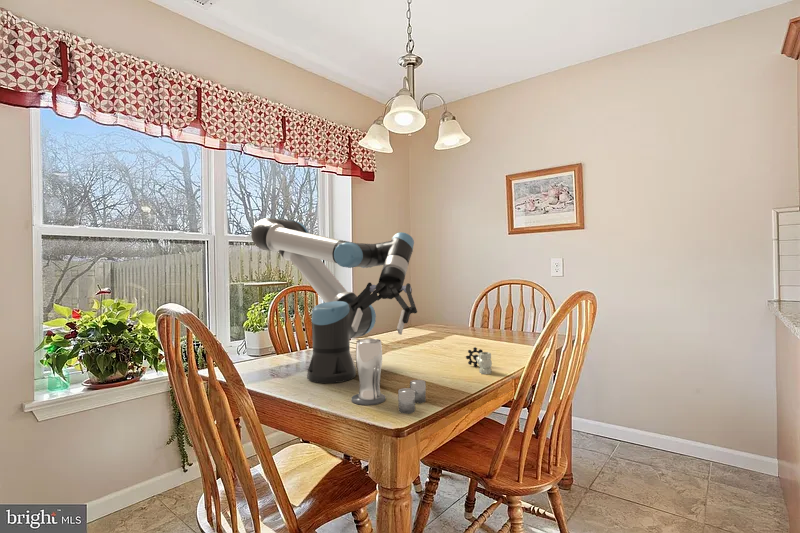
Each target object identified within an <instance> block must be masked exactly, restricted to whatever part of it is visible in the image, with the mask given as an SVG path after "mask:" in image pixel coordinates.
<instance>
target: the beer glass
mask: <svg viewBox="0 0 800 533" xmlns="http://www.w3.org/2000/svg"><path fill="white" fill-rule="evenodd" d="M355 345H356V346H355V348H356V349H355V362H356V364H355V365H356V370H357V374H358V382H359V386H358V388H359V390H358V393H357V394H358V398H359V399H360V400H364V401H373V400H378V399H380V398H381V394H382V392H381V387H380V386H381V373H382V372H381V371H382V367H383V366H382V365H383V349H382V348H383V346H382V340H381V339H379V338H362V339H361V338H360V339H358V340H356V344H355ZM379 383H380V384H379Z"/></svg>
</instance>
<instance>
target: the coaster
mask: <svg viewBox="0 0 800 533" xmlns="http://www.w3.org/2000/svg"><path fill="white" fill-rule="evenodd" d="M358 394H359V393H356V394H353V395H352V396H351V399H350V400H351V403H353V404H354V405H355V404H356V405H359V406H374V405H379V404H382V403H384V402H385V401H386V395H385V394H384V393H381V398H380V399H378V400H373V401H364V400H360V399H359V398H358Z"/></svg>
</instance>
